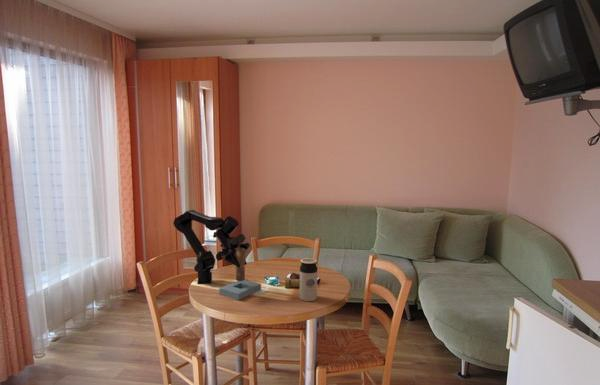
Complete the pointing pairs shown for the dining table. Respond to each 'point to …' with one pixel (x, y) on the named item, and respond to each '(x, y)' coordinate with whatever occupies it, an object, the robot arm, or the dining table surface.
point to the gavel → (292, 281)
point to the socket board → (240, 289)
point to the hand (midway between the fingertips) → (242, 265)
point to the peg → (241, 259)
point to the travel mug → (308, 279)
